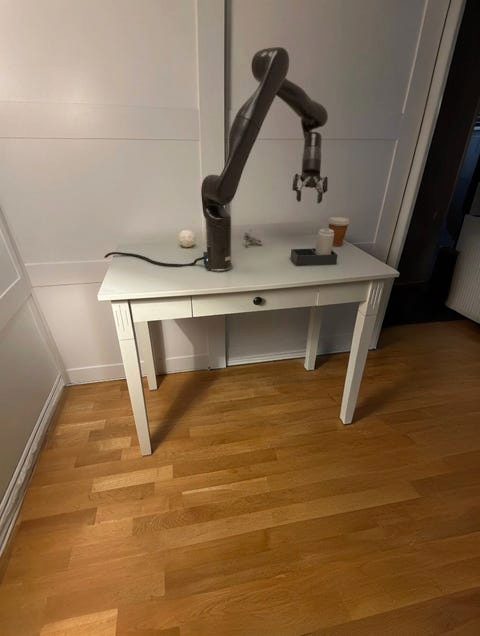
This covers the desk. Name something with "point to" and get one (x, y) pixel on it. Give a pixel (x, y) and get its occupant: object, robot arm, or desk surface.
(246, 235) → the elephant figurine
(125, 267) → the desk surface
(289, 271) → the desk surface
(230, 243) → the robot arm
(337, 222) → the disposable coffee cup
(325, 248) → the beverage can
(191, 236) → the geometric ball
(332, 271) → the desk surface
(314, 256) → the divided tray
